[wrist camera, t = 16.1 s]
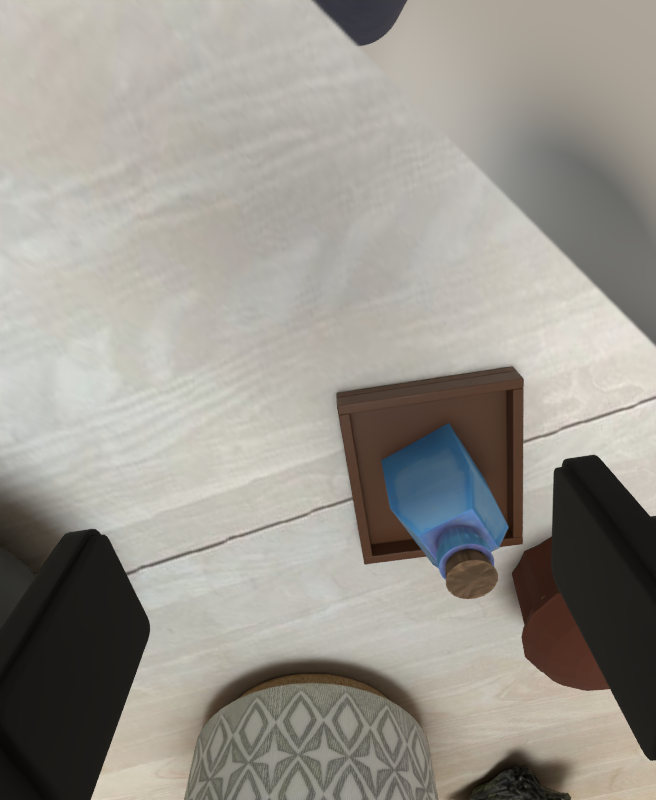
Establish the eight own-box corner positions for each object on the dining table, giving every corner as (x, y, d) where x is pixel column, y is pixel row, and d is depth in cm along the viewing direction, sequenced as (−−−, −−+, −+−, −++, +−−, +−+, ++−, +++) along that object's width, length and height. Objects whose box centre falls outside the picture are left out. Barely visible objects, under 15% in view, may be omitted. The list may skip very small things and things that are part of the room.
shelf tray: (336, 392, 39) (336, 406, 37) (513, 366, 38) (523, 378, 36) (362, 546, 46) (364, 564, 44) (513, 526, 45) (522, 544, 43)
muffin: (562, 503, 44) (624, 592, 35) (648, 556, 47) (725, 652, 38) (472, 586, 48) (506, 686, 39) (555, 631, 51) (605, 733, 42)
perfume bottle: (448, 422, 39) (496, 523, 29) (484, 477, 42) (539, 589, 31) (381, 460, 41) (401, 569, 30) (418, 511, 43) (450, 629, 32)
